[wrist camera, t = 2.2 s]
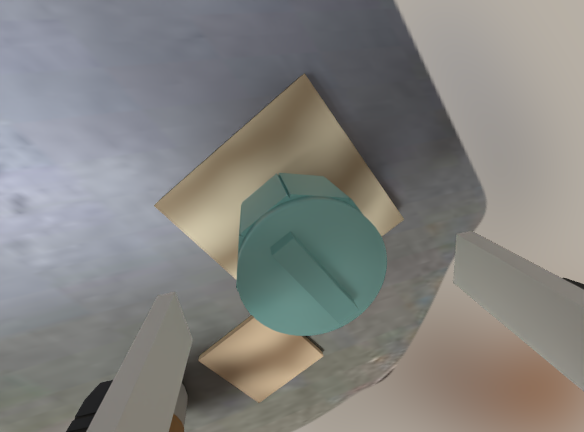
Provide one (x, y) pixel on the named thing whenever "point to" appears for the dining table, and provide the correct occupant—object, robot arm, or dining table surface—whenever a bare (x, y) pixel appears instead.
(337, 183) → the post base
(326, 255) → the cap
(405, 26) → the dining table surface
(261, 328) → the coaster
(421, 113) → the dining table surface
